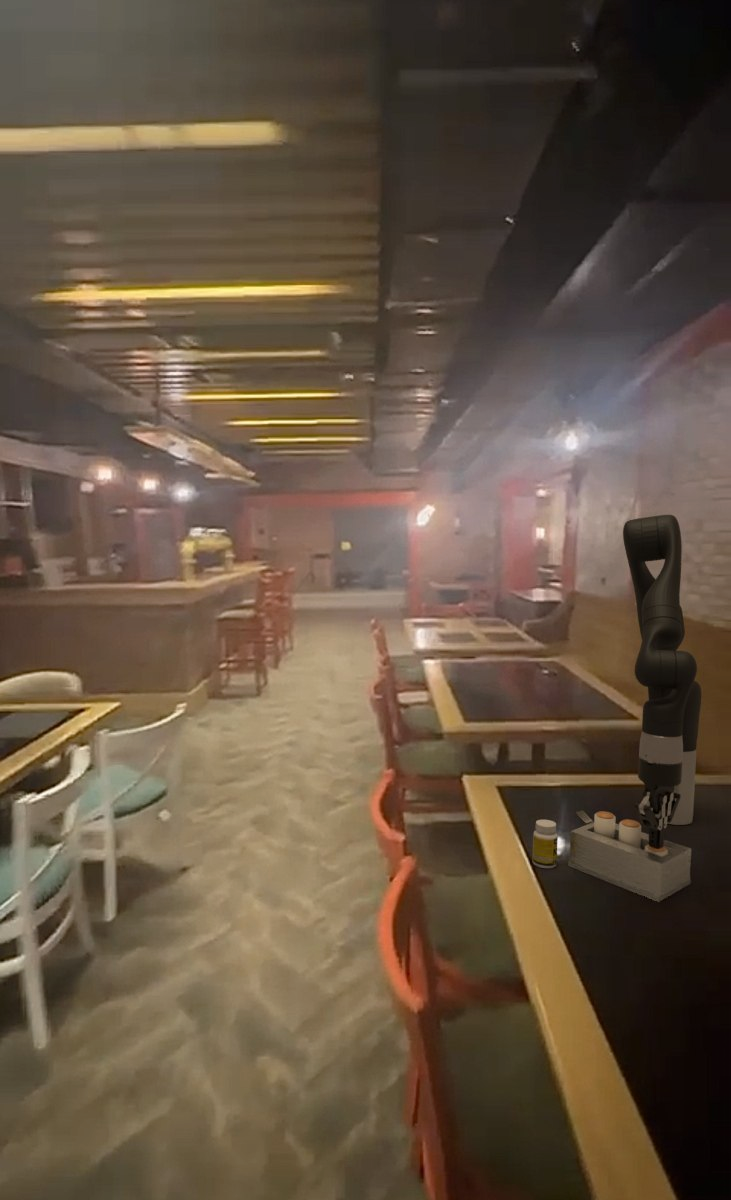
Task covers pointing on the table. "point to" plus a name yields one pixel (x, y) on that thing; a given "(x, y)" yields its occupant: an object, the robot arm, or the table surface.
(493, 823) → the table surface
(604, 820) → the knob
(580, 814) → the fork
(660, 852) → the knob
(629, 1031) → the table surface
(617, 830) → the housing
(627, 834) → the knob
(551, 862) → the supplement bottle
